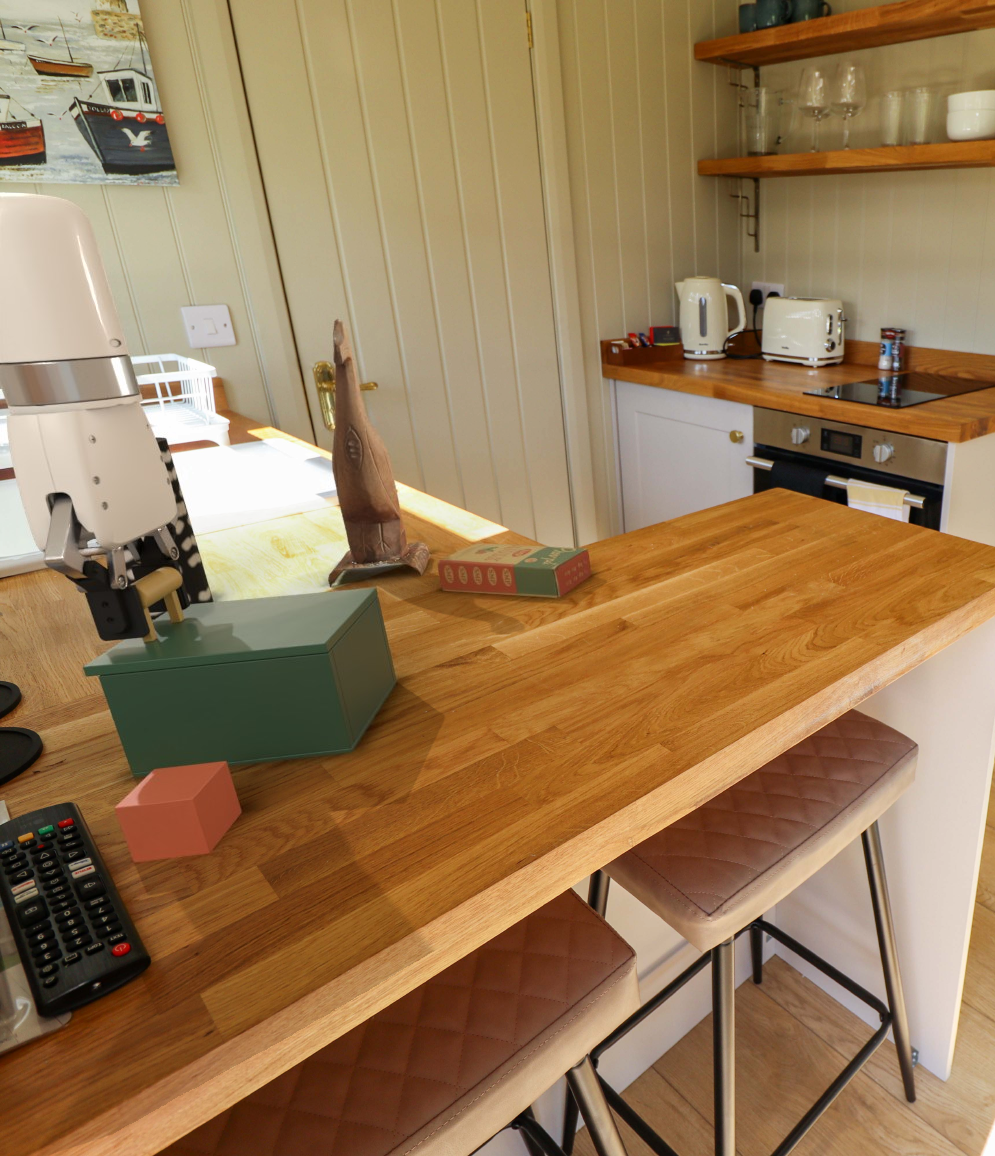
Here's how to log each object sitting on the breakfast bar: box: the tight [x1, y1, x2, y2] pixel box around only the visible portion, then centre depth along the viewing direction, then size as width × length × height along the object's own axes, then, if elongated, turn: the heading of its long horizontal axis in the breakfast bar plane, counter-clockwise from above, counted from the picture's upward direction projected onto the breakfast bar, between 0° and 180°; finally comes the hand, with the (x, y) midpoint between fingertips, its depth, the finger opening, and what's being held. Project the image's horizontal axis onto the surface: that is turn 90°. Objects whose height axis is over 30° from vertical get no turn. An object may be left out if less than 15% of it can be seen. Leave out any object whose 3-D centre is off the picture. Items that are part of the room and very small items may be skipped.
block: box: [113, 761, 243, 863], centre depth 53 cm, size 4×4×4 cm
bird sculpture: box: [327, 318, 431, 588], centre depth 103 cm, size 11×12×32 cm
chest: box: [98, 596, 398, 778], centre depth 67 cm, size 16×13×9 cm
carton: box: [437, 542, 592, 599], centre depth 100 cm, size 8×16×4 cm, turn 74°
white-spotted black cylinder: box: [123, 436, 215, 621], centre depth 95 cm, size 8×8×20 cm
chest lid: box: [82, 567, 379, 678], centre depth 65 cm, size 16×13×5 cm
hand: (147, 621), depth 64 cm, fingers closed on chest lid, 5 cm apart
